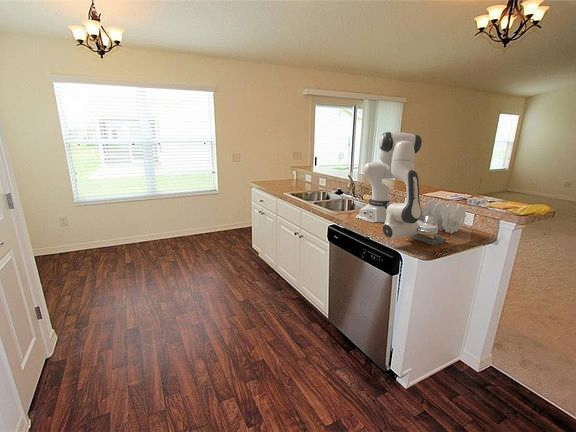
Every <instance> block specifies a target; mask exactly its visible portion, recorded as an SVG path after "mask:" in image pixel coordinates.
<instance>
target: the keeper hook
mask: <svg viewBox="0 0 576 432" xmlns="http://www.w3.org/2000/svg"><path fill="white" fill-rule="evenodd" d="M433 236H434V237H436V240H437V241H438V240H441V237H442V236H443V235H438V234H434V235H433ZM442 238H443V237H442Z"/></svg>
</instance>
